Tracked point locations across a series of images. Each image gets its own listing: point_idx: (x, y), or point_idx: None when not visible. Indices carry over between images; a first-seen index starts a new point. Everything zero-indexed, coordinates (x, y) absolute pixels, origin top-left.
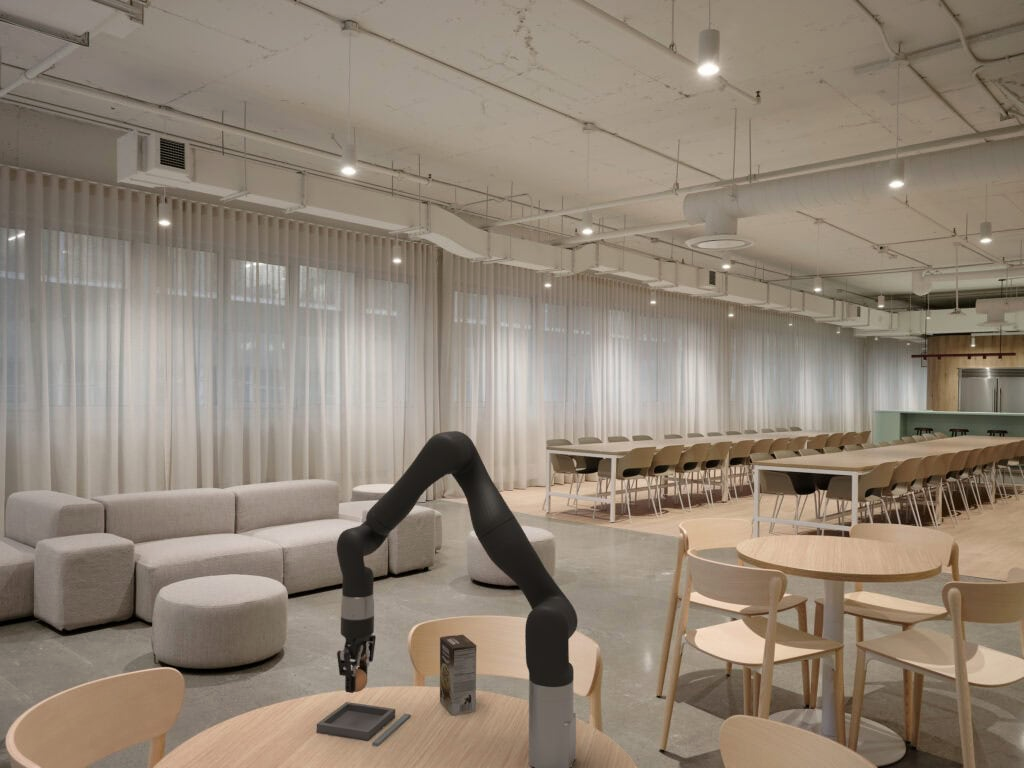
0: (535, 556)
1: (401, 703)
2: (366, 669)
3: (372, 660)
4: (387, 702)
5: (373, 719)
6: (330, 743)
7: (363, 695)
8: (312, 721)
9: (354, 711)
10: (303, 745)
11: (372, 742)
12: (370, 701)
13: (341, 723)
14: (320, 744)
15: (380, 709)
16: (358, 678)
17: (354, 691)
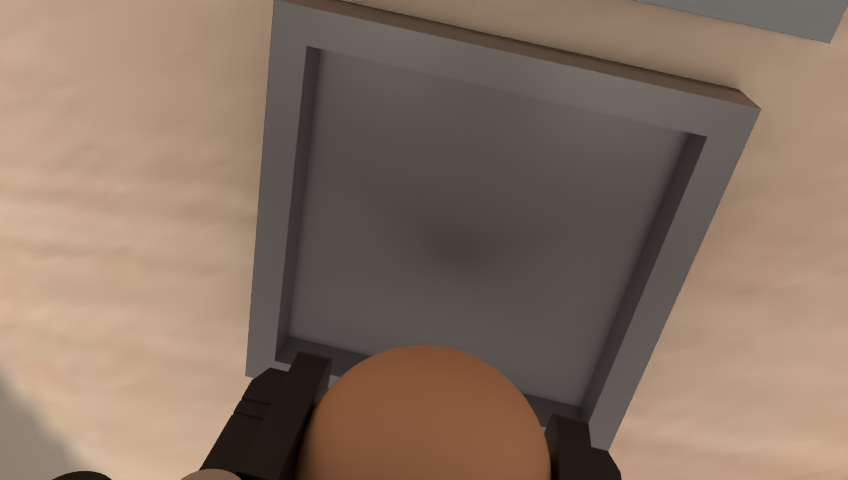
0: None
1: (44, 12)
2: (267, 464)
3: (71, 477)
4: (69, 123)
5: (395, 144)
6: (752, 324)
7: (34, 297)
8: None
9: (296, 295)
10: (767, 450)
11: (826, 40)
12: (98, 237)
13: (485, 329)
14: (762, 373)
15: (301, 125)
16: None
17: (563, 415)
